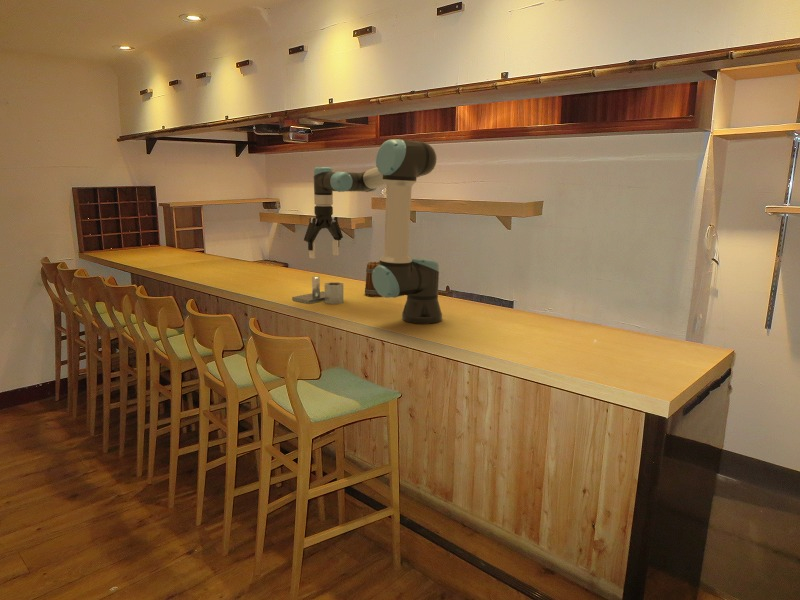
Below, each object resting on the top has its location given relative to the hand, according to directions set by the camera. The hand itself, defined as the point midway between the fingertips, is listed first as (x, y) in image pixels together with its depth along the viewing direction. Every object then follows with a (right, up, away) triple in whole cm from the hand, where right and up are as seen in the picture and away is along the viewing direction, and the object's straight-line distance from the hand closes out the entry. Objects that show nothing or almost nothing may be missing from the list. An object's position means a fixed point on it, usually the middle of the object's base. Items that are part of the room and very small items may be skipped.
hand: (324, 256), depth 224 cm
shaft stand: (-5, -18, +13) cm, 22 cm away
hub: (+3, -19, +7) cm, 21 cm away
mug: (+23, -16, +23) cm, 36 cm away
